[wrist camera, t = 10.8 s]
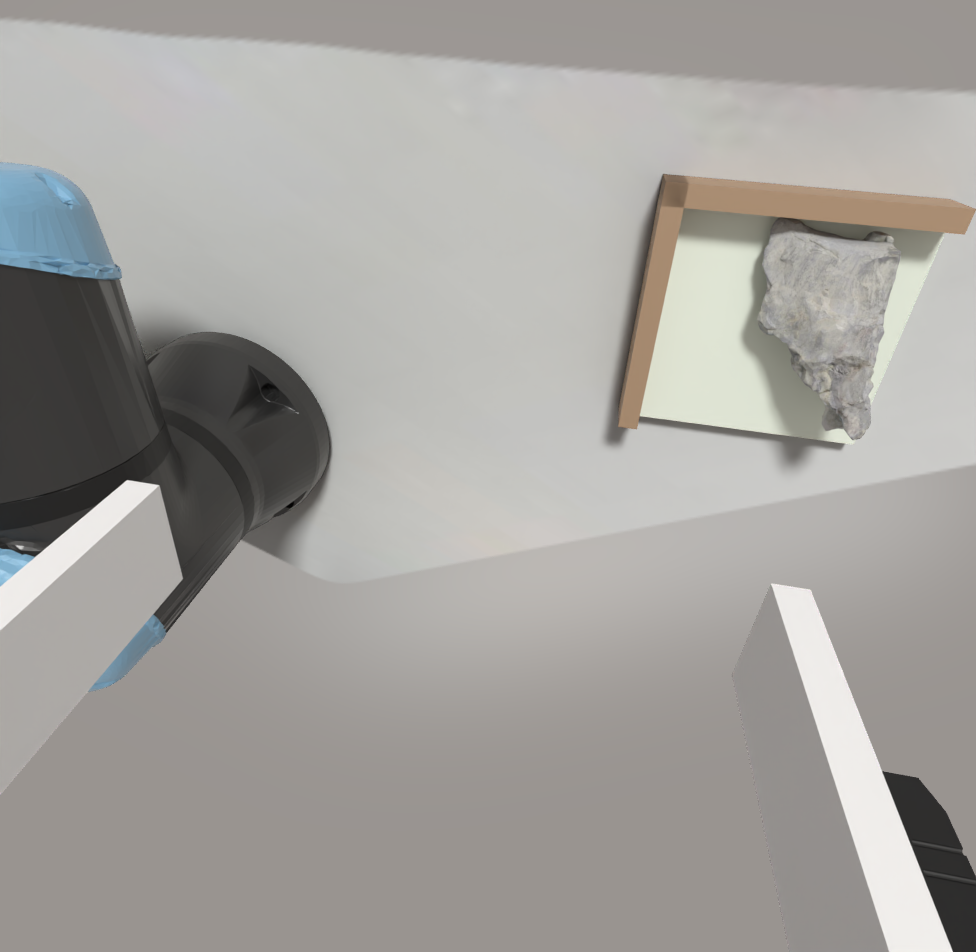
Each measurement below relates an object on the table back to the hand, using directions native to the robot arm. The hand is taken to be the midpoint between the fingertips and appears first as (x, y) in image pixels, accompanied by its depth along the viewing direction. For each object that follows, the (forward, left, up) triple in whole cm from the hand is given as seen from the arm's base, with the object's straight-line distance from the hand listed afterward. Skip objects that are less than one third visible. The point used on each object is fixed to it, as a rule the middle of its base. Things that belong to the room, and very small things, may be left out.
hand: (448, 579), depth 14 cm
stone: (+19, -5, -31) cm, 36 cm away
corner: (+13, -3, -30) cm, 33 cm away
